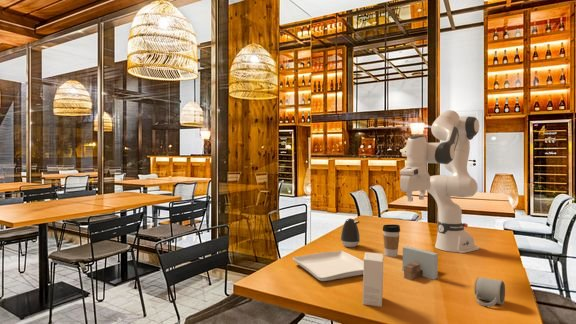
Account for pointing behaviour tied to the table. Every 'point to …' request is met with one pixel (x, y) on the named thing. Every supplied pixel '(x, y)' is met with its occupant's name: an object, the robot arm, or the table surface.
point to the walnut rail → (412, 271)
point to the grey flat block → (422, 261)
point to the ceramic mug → (489, 291)
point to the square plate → (331, 265)
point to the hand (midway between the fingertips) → (415, 200)
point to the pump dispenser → (350, 233)
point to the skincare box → (373, 279)
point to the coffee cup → (391, 239)
